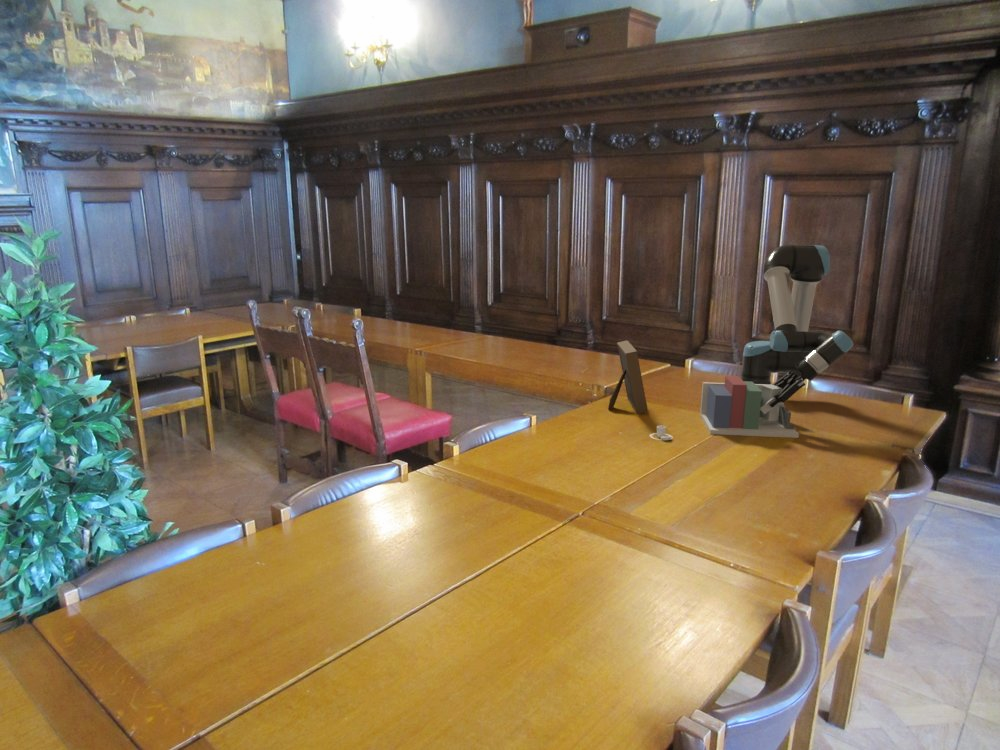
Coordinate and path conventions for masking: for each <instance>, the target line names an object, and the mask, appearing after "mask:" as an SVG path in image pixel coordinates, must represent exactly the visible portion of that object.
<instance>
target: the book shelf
mask: <svg viewBox="0 0 1000 750" xmlns="http://www.w3.org/2000/svg"><path fill="white" fill-rule="evenodd" d="M762 385H768V384H754V383H753V382H749V381H743V380H742V379H741V376H739V375H725V376H724V382H706V381H702V386H701V387H702V388H701V401H700V411H699V413H700V419H701V420H702V422H703V424H704V426H705V427H706V429H707V431H708V433H709V435H723V436H724V435H727V436H745V437H746V436H747V437H748V436H749V437H751V436H752V437H768V438H769V437H770V438H772V437H775V438H793V439H796V438H797V439H798V438H799V436H800V433H799V432H798V431H797V430H796V428H795V427H794V425H792V424H791V417H792V412H791V411H790V410H789V408H787V407H786V406H785V402H784V403H783V402H781V403H780V407H779V414H778V420H775V421H767V420H765V419H763V418H761V417H759V416H760V407H761V397H762Z"/></svg>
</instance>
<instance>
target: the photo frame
mask: <svg viewBox="0 0 1000 750" xmlns="http://www.w3.org/2000/svg"><path fill="white" fill-rule="evenodd" d="M616 344H617V349H618V350H617V351H618V355H619V358H620V359H619V360H620V365H621V371H622V374H621V376H620V377H619V378H620V379H619V380H618V382H617V384H616V387H614V390H613V392H612V395H611V396H610V398H609V402H608V405H607V406H608V407H607V410H611V409H613V408H615V407H614V406H615V404H616V402H617V399H618V396H619V393H620V391H621V387H622V385H623V383H624V386H625V391H626V396H627V400H628V402H629V403H630V405H631V407H632V408H633V410H634V412H635V414H636V415H639V414H640V415H641V414H644V413H648V412H649V409H648V404H647V398H646V392H645V387H644V383H643V382H644V381H643V377H642V372H641V371H642V370H641V366H640V365H641V364H640V362H639V361H640V360H639V354H638V350H637V349H636V348H635V347H634V346H633V345H632V344H631V342H630V341H628V340H623V341H618V342H616Z"/></svg>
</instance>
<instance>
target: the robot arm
mask: <svg viewBox="0 0 1000 750" xmlns="http://www.w3.org/2000/svg"><path fill="white" fill-rule="evenodd" d="M830 270H831V257H830V253H829V251H828V248H827V247H826V246H825V245H818V244H784V245H783V244H782V245H780V246H778V247H776V248H774V249H773V250H772V251H771V252H770V253H769V254H768V255H767V258H766V259H765V261H764V263H763V268H762V271H763V272H762V274H763V279H764V280H765V281H766V282H767V287H768V293H769V299H770V308H771V314H772V320H773V325H774V326H773V327H774V330H773V331H772V332H770V335H769V340H755V341H754V340H753V341H750V342H748V343H746V344H745V345H744V348H743V353H742V365H741V374H740V378H741V379H742V380H743V381H749V382H753V383H754V384H772V385H774V386H777V387H780V388H782V390H781V392H780V393H779V394H778V395H774V397H773V398H771V399H770V400H769V401H768V402H767V403H765V404H764V405H763V406H762V407H760V410H761V411H762V412H763V413H764V414H766V413H767V412H768V411H770V410H771V409H772V408H773V407H775V406H776V405H777V404H778V403H779V402H780V403H781V402H783V403H784V404H785V403H786V402H787V401H788V400H789V399H790V398H791V397H792V396H794V395H795V393H797V392H798V391H799V390H800V389H802V388H803V387H805V386H806V383H805V380H808V381H809V382H811V381H812V380H813V379H815V378H816V377H817V376H818V375H819V373H820V374H822V372H823V371H826V370H827V369H828V367H830V365H833V363H835V362H836V361H837V360H838V359H840V358H841V357H842V356H844V355H845V354H846V353H847V352H849V350H850V349H852V348H853V346H854V341H853V339H852V338H850V336H848V334H846V332H844V331H843V330H836V331H835V332H833V333H830V332H829V331H827V330H822V329H820V330H819V329H817V330H814V331H809V327H810V322H811V316H812V311H813V305H814V300H815V295H816V288H817V285H818V284H819V283H821V281H822V279H823V276H827V275H828V274H829V272H830ZM789 279H790V280H791V281H792V289H791V286H790V282H789V281H790V280H789ZM772 373H774V374H775V373H776V374H777V373H778V374H784V375H783V376H781V377H780V378H779V379H777V380H776V381H775V382H774V383H772V382H771V376H772Z"/></svg>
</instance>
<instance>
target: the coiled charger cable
mask: <svg viewBox="0 0 1000 750" xmlns="http://www.w3.org/2000/svg"><path fill="white" fill-rule="evenodd" d="M666 430H667V427H666V426H665V425H662V424H661V425H659V424H658V425H657V426H656V432H653V433H652V432H651V433H650V434H648V435H649V438H651V439H652V440H656V441H670V440H672V439H673V438H674V437H673V435H671V434H668V433H666ZM654 435H656V437H657V438H656V437H654Z"/></svg>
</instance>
